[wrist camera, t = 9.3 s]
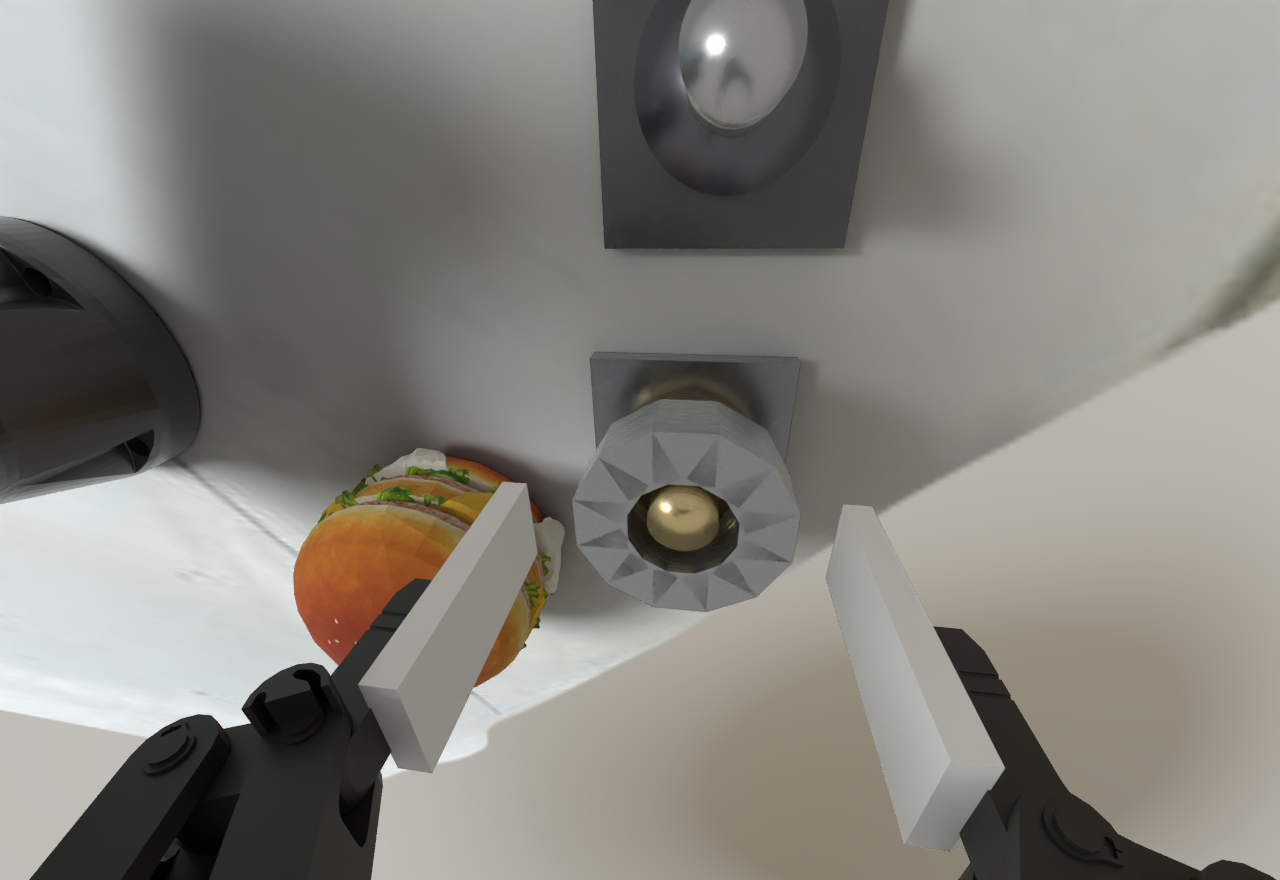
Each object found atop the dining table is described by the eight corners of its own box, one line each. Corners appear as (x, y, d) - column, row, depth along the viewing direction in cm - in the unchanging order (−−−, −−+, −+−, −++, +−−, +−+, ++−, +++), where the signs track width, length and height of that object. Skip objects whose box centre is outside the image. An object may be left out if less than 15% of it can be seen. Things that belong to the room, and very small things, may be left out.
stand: (609, 246, 21) (548, 279, 13) (595, -59, 16) (489, -288, 9) (837, 245, 20) (920, 282, 12) (895, -86, 15) (1094, -383, 7)
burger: (338, 442, 29) (177, 552, 20) (543, 424, 26) (459, 541, 17) (419, 599, 35) (322, 735, 26) (592, 596, 32) (548, 747, 24)
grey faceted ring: (560, 509, 23) (541, 550, 20) (649, 361, 19) (639, 389, 16) (713, 589, 24) (714, 637, 22) (830, 467, 20) (848, 508, 17)
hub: (604, 510, 28) (575, 598, 22) (594, 351, 24) (553, 408, 18) (772, 522, 27) (789, 619, 21) (796, 357, 22) (829, 420, 16)
